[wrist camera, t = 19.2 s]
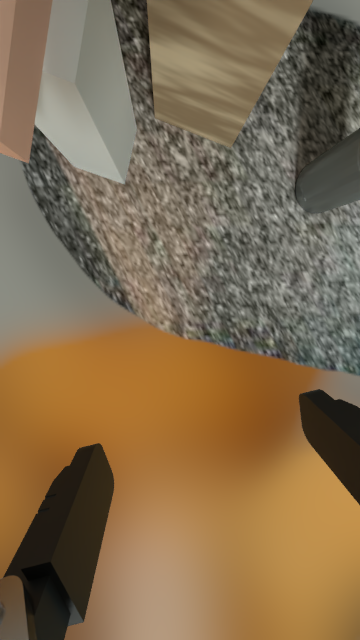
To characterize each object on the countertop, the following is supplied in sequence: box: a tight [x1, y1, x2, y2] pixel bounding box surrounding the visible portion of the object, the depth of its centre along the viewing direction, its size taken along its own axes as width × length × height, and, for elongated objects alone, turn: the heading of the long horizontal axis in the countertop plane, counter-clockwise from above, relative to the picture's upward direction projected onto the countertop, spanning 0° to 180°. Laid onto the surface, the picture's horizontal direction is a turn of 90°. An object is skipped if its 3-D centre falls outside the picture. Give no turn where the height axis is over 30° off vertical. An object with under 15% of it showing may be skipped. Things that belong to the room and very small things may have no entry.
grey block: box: [34, 0, 137, 184], centre depth 28 cm, size 9×9×23 cm
